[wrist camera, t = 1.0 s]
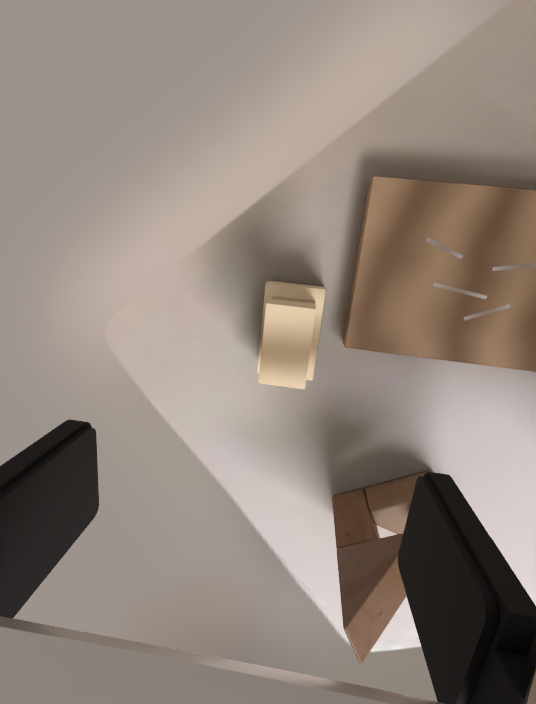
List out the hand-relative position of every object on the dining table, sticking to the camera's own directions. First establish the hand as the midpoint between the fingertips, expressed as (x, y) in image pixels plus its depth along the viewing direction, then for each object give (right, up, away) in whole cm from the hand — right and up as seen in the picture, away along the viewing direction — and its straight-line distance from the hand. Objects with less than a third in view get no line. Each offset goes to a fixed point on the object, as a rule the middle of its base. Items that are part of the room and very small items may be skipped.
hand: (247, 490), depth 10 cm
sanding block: (+3, +7, +24) cm, 25 cm away
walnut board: (+18, +10, +21) cm, 29 cm away
